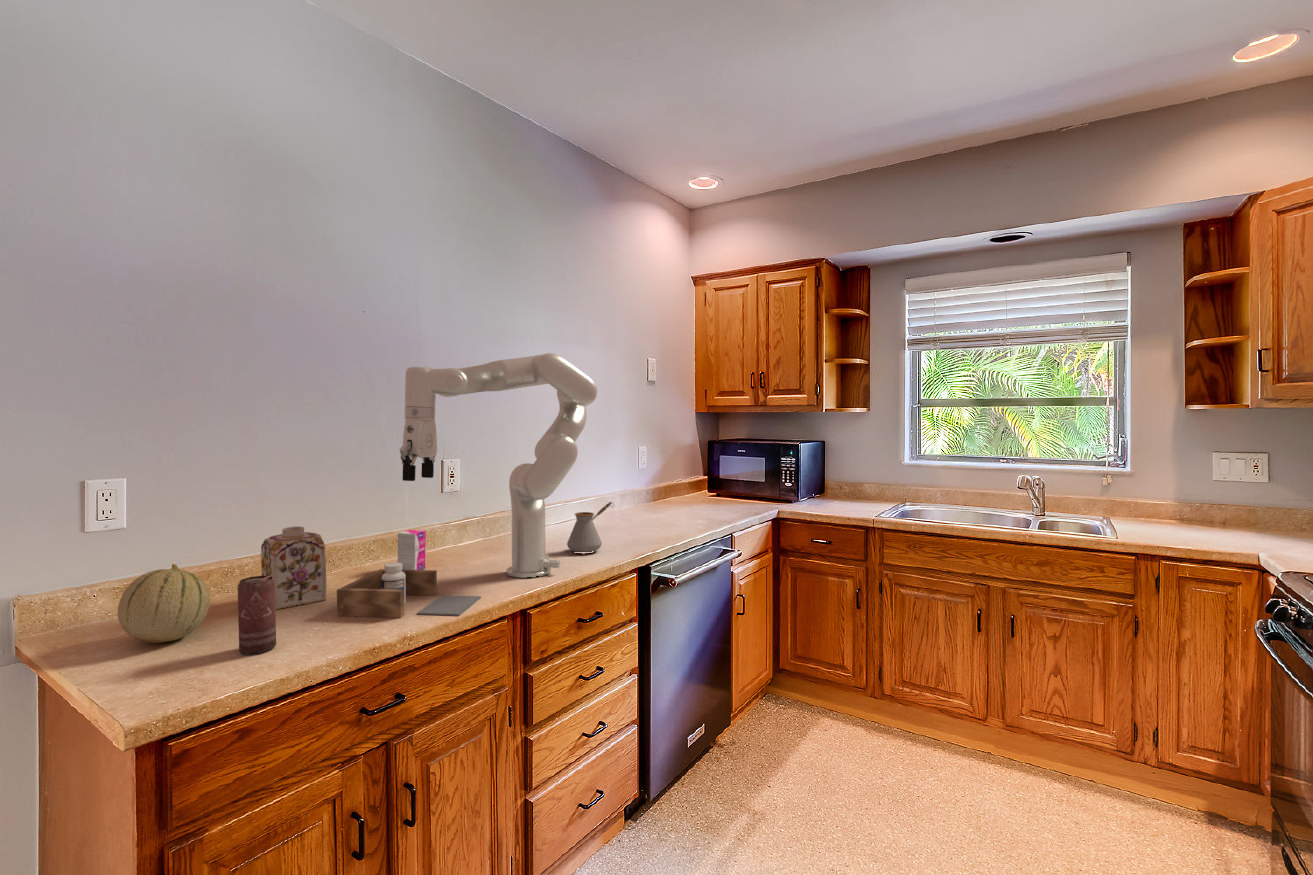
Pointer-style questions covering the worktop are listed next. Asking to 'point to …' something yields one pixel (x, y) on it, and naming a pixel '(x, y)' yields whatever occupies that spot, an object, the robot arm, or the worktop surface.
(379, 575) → the open box
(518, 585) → the worktop surface
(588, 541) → the coffee pot
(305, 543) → the decorative jar
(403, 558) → the supplement box
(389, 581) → the pill bottle
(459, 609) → the mat
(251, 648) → the can
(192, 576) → the cantaloupe
